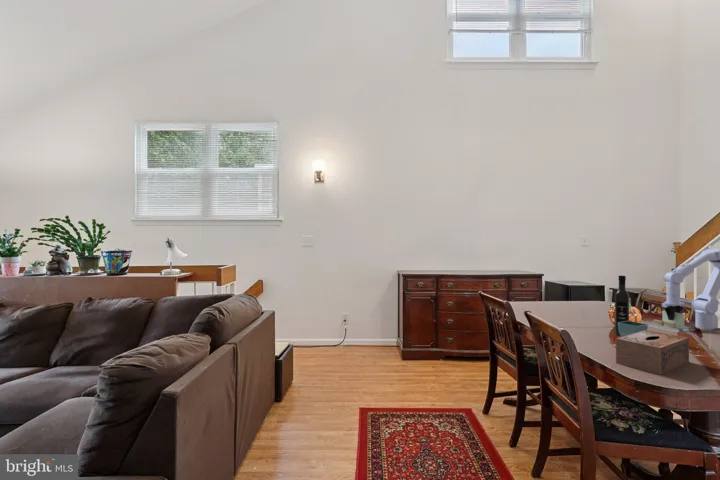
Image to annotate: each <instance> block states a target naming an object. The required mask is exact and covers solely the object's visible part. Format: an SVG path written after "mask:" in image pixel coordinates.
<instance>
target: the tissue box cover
mask: <svg viewBox="0 0 720 480" xmlns="http://www.w3.org/2000/svg"><path fill="white" fill-rule="evenodd" d="M615 363H616V364H617V365H622V366H625V367H630V368H632V369H633V368H634V369H636V368H637V370H641V371H645V372H649V373H652V374H655V375H664V374H665V373H668V372H671V371H672V370H674V369H677V368H679V367H682V366H683V365H686V364H688V363H690V337H687V336H681V335H678V334H677V335H676V334H670V333H665V332H660V331H654V330H648V329H647V330H644V331H640V332H637V333H634V334H630V335H627V336H623V337H621V336H620V337H617V338H615Z"/></svg>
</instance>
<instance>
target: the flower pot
mask: <svg viewBox="0 0 720 480" xmlns="http://www.w3.org/2000/svg"><path fill="white" fill-rule="evenodd" d="M618 329H619V333H620V335H619V336H620V337H623V336H627V335H630V334H634V333H637V332H640V331H644V330H648V324H646V323H642V322H637V321H631V320H629V321H623V322H618Z"/></svg>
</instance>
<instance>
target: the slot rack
mask: <svg viewBox="0 0 720 480" xmlns="http://www.w3.org/2000/svg"><path fill="white" fill-rule="evenodd" d="M645 324H648V327H649V328H654V329H657V330H663V331H667V332H671V333H682V332H683V333H684V332H693V331H694V329H693V327H691V326H687V325H685V327H682V326H677V325H676V328H672V327H667V326H662V325H657V324H653V321H649V322H647V321H645ZM648 327H647V328H648Z"/></svg>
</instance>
